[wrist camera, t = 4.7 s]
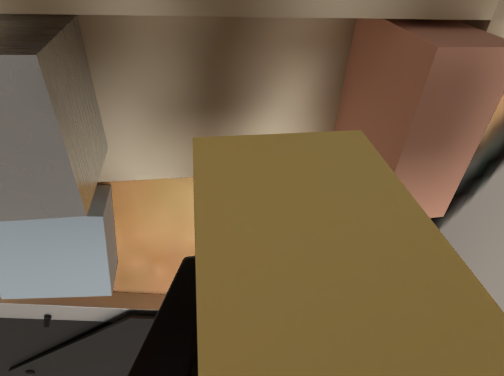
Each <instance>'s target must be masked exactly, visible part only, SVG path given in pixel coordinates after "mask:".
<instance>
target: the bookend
mask: <svg viewBox="0 0 504 376" xmlns="http://www.w3.org/2000/svg"><path fill="white" fill-rule="evenodd" d="M107 150H108V145H107V141H106V137H105V132H104V128H103V124H102V119H101V115H100V111H99V106H98V102H97V98H96V93H95V89H94V85H93V80H92V76H91V72H90V67H89V63H88V59H87V54H86V50H85V46H84V41H83V37H82V33H81V28H80V24H79V20H78V15H38V14H0V221H1V222H4V221H19V220H34V219H49V218H65V217H80V216H87V214H88V211H89V208H90V204H91V201H92V198H93V195H94V192H95V189H96V185H97V182H98V179H99V176H100V173H101V170H102V166H103V163H104V160H105V157H106V154H107Z"/></svg>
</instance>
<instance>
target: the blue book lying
mask: <svg viewBox="0 0 504 376" xmlns="http://www.w3.org/2000/svg"><path fill="white" fill-rule="evenodd" d="M117 264H118V258H117V247H116V236H115V225H114V213H113V202H112V191H111V185H98V184H97V185H96V189H95V192H94V195H93V198H92V201H91V204H90V208H89V211H88V214H87V216H80V217H65V218H49V219H34V220H19V221H4V222H1V221H0V297H1V299H27V298H59V297H91V296H112V292H113V287H114V281H115V275H116V270H117Z"/></svg>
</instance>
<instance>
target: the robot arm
mask: <svg viewBox="0 0 504 376" xmlns="http://www.w3.org/2000/svg"><path fill="white" fill-rule="evenodd" d="M127 376H198V347H197V305H196V263H195V256H189V257H185V258H184V259H183V261H182V263H181V265H180V267H179V269H178V271H177V273H176V275H175V277H174V280H173V282H172V284H171V286H170V288H169V290H168V292H167V294H166V296H165V298H164V300H163V302H162V304H161V306H160V308H159V310H158V313H157V315H156V317H155V319H154V321H153V323H152V325H151V327H150V329H149V331H148V333H147V335H146V337H145V339H144V341H143V343H142V345H141V348H140V350H139V352H138V354H137V356H136V358H135V360H134V362H133V364H132V366H131V368H130V370H129V372H128V374H127Z"/></svg>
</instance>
